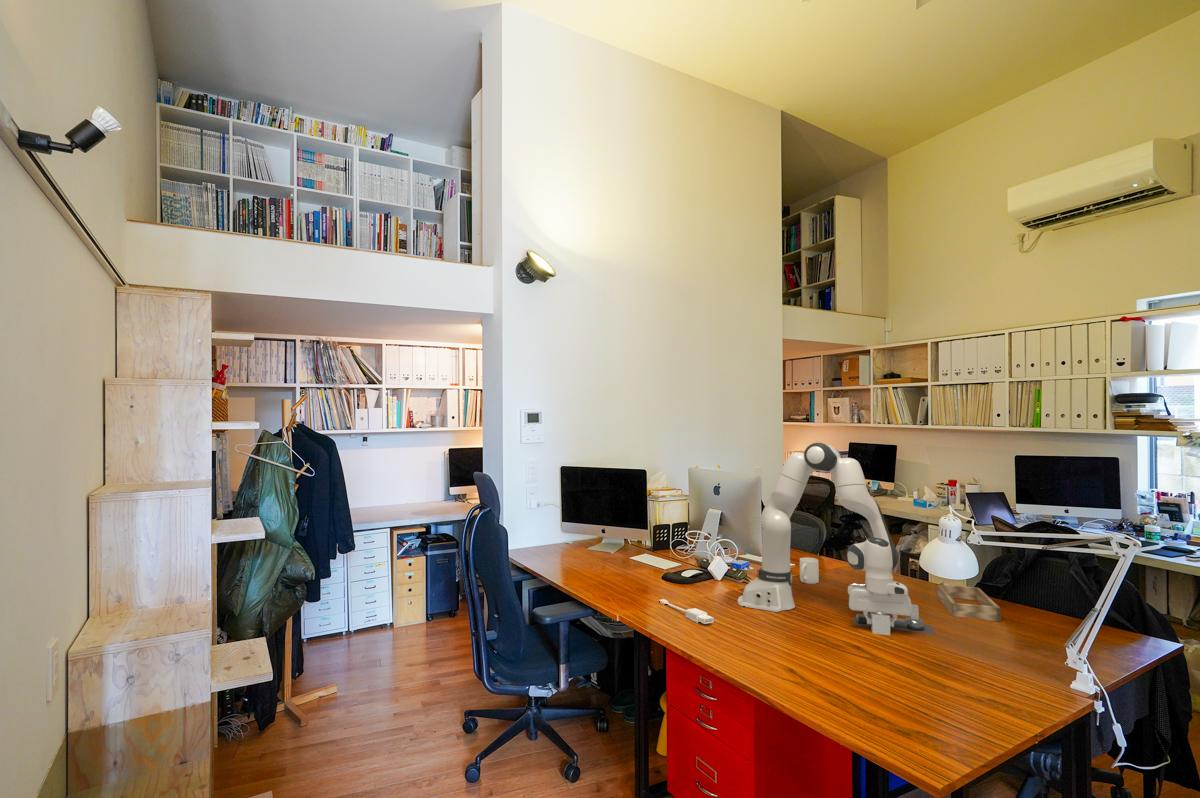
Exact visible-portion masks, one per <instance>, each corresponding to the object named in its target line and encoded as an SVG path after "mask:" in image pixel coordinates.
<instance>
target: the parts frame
mask: <svg viewBox="0 0 1200 798" xmlns="http://www.w3.org/2000/svg"><path fill="white" fill-rule="evenodd" d="M936 596H937V597H938V599H939V600H940V601H941V603H942V604H943V606H945V608H946V609H947V610H948V612H949V613H950V614H951V616H953V617H958V618H959V617H961V618H971V619H980V620H984V621H993V622H1000V623H1001V622H1002V613H1001V612H1002V608H1001V607H1000V606H999V605H998V604H997V603H996V602H994V601H993V599H992V598H991V597H990V596H989V595H988V594H986V593H985V592H984V591H983V590H982V589H981V588H980V587H976V586H964V585H963V586H962V585H951V584H940V583H938V584H936ZM954 599H958V600H970V601H971V600H972V601H977V603H979V605H978V604H971V603H970V604H969V603H959V602H955V600H954Z"/></svg>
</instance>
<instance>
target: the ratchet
mask: <svg viewBox="0 0 1200 798" xmlns="http://www.w3.org/2000/svg"><path fill="white" fill-rule="evenodd" d="M911 604H912V611H913V613H912V615H911V616H905V618H900V617H899V618H898V617H897V619H896V620H895V622H894V627H897V628H906V629H909V630H913V631H923V630H924V625H925V620H924V619H922V618H921V617H920V618H919V613H920V611H919V605H918V604H913V603H911ZM855 615H856V616H855V618H856V621H857V623H859V624H867V619H866V617H865V616H864V613H856V614H855ZM867 616H868V618H871V614H868V615H867ZM892 618H893V617H890V620H892ZM867 625H871V624H867Z"/></svg>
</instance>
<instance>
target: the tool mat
mask: <svg viewBox="0 0 1200 798" xmlns="http://www.w3.org/2000/svg"><path fill="white" fill-rule="evenodd" d="M852 619H853V624H854V626H858V627H868V628H871V625H867V624H859V623H857V621H856V617H852ZM890 630H896V631H903V632H904V631H905V632H913V633H914V632H915V633H923V634H933V635H936V634H937V633H936V631H935V629H934V628H933V627H932V625H931V624H930V625H928V624H924V630H923V631H913V630H909V629H906V628H897V627H890Z"/></svg>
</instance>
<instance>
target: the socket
mask: <svg viewBox="0 0 1200 798" xmlns="http://www.w3.org/2000/svg"><path fill="white" fill-rule="evenodd" d="M869 613H870V614H869V615H871V619H872V625H871V627H870V629H871V632H872V634H876V635H883V636H884V635H885V636H891V629H890V618H891V614H886V613H882V612H869Z"/></svg>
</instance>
